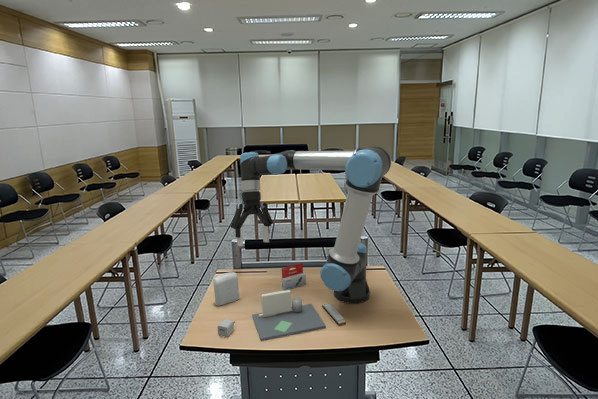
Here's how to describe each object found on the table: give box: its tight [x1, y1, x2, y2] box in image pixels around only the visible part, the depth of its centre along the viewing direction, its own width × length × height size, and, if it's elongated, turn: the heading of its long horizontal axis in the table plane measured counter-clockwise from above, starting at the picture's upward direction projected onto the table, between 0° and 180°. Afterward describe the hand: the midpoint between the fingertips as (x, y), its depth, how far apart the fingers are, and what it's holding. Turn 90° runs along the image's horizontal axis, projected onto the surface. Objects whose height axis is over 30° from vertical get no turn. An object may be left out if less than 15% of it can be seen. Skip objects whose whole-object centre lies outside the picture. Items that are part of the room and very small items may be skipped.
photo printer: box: [212, 271, 240, 306], centre depth 154 cm, size 10×4×12 cm, turn 123°
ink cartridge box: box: [281, 262, 307, 291], centre depth 166 cm, size 2×11×10 cm, turn 121°
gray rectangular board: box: [251, 303, 327, 342], centre depth 140 cm, size 24×16×1 cm, turn 107°
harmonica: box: [321, 303, 347, 327], centre depth 144 cm, size 15×3×2 cm, turn 22°
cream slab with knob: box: [259, 289, 303, 317], centre depth 143 cm, size 17×4×8 cm, turn 107°
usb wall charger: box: [217, 318, 236, 338], centre depth 135 cm, size 4×7×4 cm, turn 160°
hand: (253, 244), depth 151 cm, fingers open, 13 cm apart
